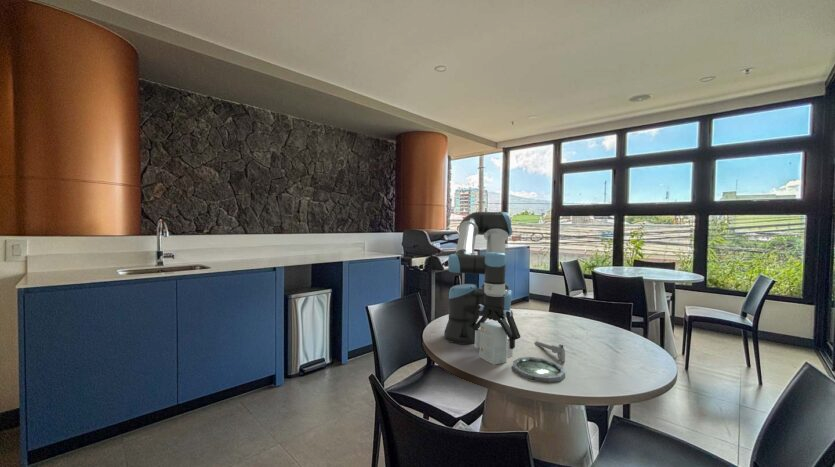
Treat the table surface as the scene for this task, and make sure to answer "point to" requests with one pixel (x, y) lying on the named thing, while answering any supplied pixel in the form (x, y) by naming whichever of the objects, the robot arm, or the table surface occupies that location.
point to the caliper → (554, 349)
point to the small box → (493, 342)
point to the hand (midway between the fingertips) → (492, 351)
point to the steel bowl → (538, 369)
